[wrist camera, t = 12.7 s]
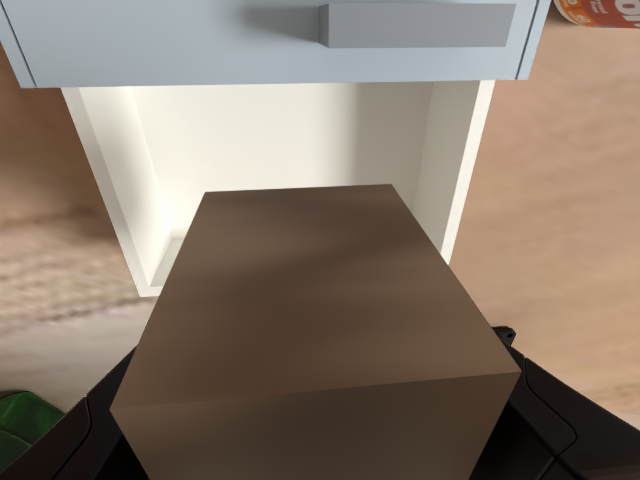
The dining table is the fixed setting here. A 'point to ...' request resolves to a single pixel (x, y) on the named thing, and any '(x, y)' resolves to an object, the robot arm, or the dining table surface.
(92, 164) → the box
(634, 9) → the pill bottle
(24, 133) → the dining table surface
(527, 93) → the dining table surface
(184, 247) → the walnut block
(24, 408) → the box
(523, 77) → the lid
